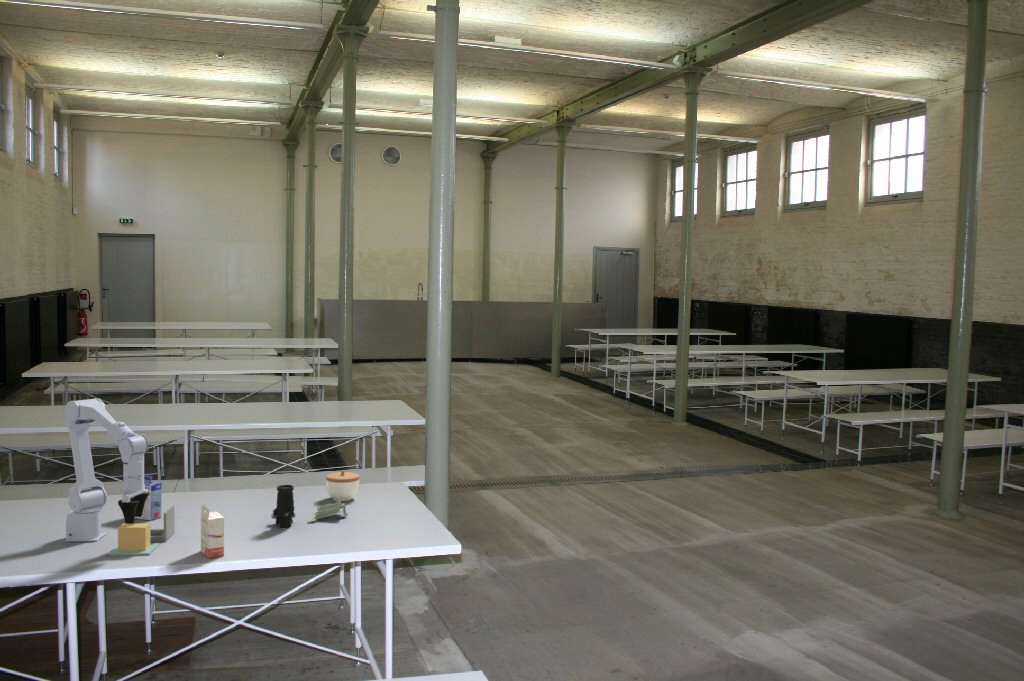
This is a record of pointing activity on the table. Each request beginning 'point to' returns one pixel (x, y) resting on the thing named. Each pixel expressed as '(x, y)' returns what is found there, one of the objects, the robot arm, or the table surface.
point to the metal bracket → (327, 511)
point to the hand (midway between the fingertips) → (133, 519)
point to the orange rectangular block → (134, 537)
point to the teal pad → (138, 552)
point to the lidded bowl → (342, 485)
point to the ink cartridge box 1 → (152, 500)
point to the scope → (284, 506)
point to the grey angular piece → (168, 527)
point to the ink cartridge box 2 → (212, 533)
